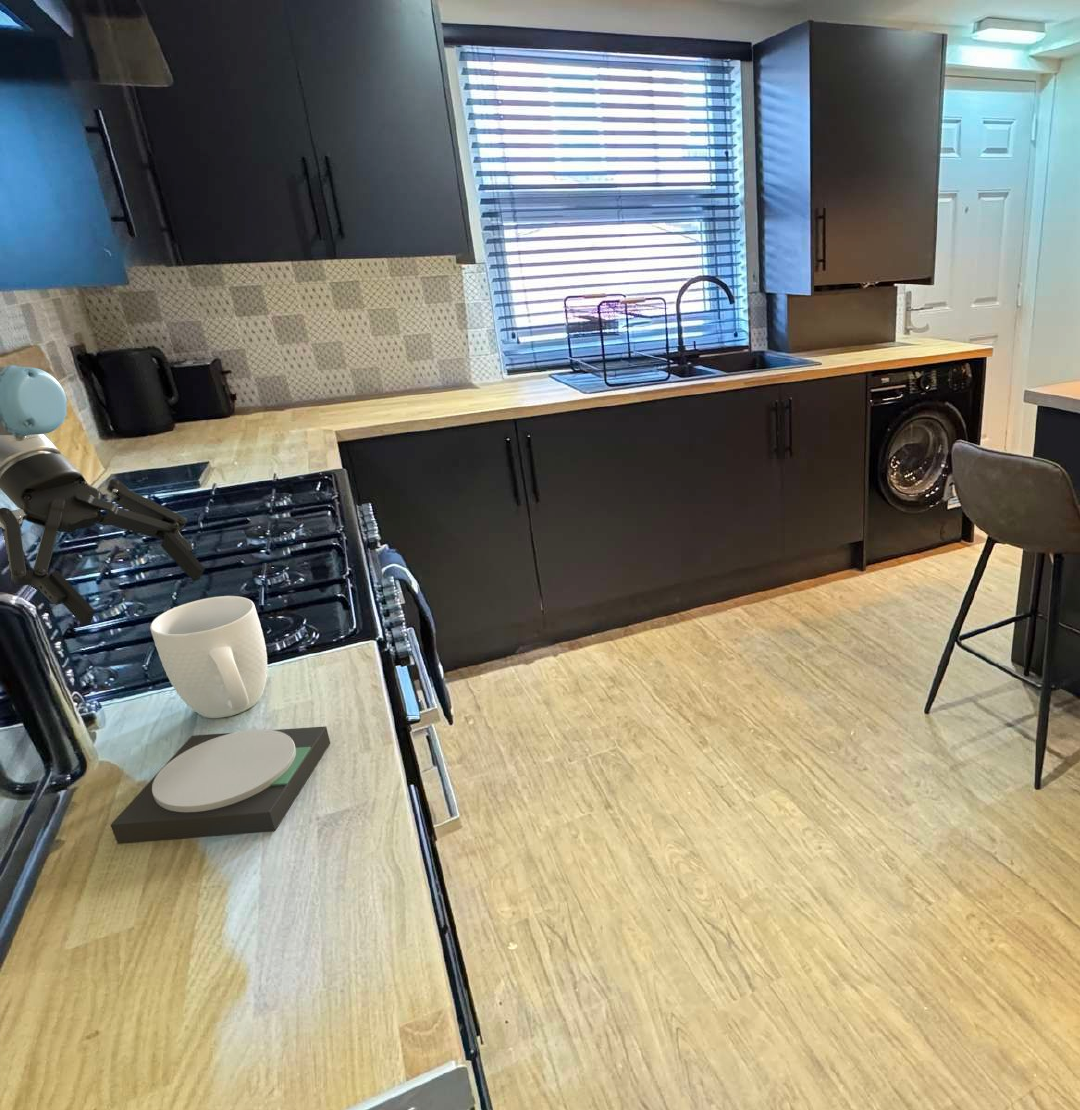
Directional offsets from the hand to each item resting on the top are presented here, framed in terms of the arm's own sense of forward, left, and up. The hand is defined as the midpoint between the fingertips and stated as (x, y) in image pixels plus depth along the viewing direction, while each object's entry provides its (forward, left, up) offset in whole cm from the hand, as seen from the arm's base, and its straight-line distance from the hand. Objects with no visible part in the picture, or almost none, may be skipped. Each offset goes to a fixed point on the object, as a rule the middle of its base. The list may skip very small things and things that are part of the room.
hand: (148, 595), depth 98 cm
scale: (+17, -22, -14) cm, 31 cm away
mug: (+9, -5, -14) cm, 18 cm away
